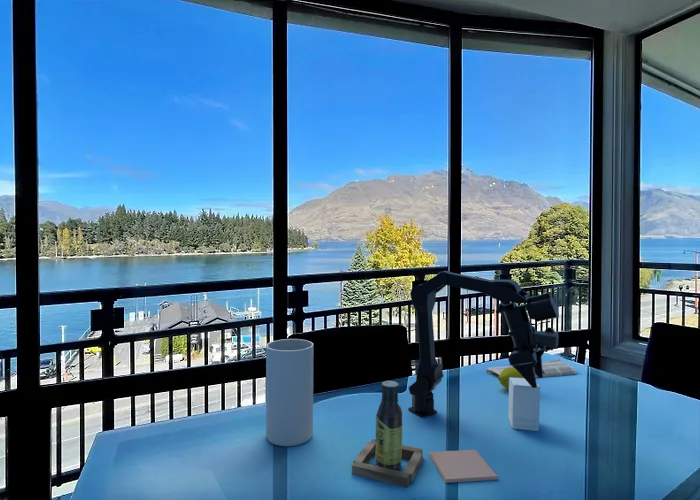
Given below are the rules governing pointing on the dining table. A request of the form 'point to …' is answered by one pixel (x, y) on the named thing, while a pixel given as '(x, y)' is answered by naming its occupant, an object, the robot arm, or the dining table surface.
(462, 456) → the tile
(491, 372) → the newspaper
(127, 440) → the dining table surface
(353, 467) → the bottle holder
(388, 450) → the sauce bottle
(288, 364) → the cylinder vase
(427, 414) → the robot arm
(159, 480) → the dining table surface
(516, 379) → the supplement box
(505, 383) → the lemon
